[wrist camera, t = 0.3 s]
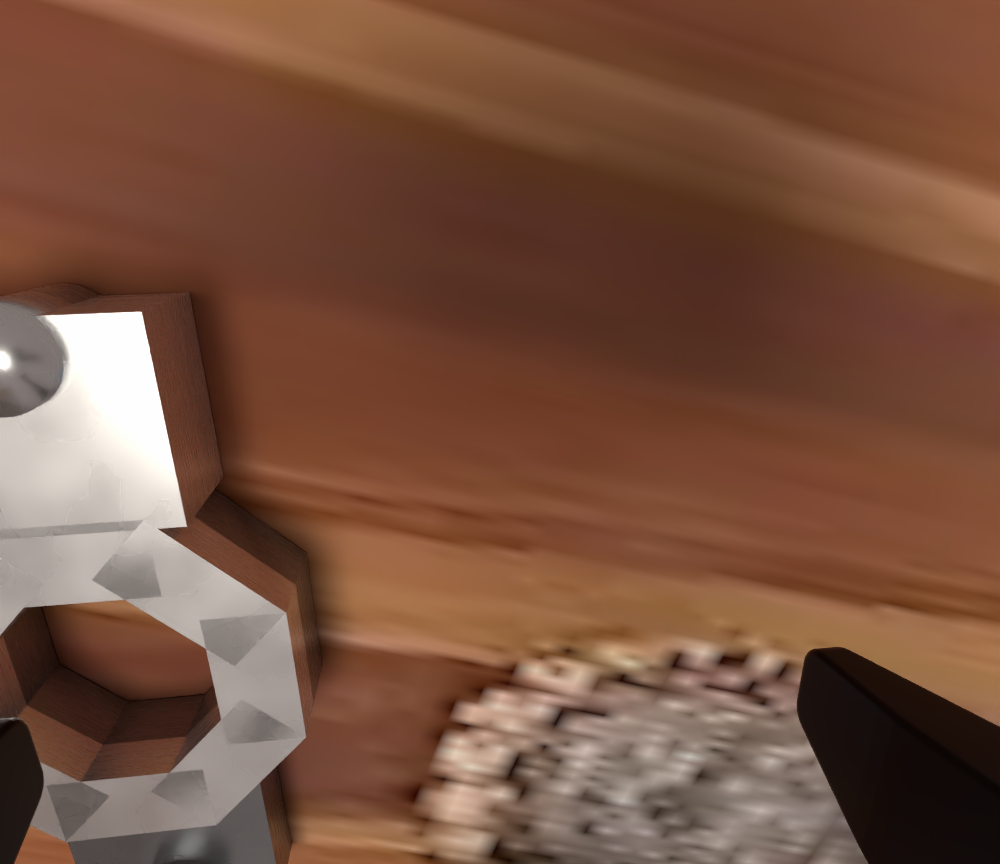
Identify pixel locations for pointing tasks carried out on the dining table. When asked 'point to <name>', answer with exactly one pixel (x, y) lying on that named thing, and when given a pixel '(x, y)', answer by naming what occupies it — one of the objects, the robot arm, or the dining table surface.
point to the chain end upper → (135, 555)
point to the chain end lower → (171, 717)
